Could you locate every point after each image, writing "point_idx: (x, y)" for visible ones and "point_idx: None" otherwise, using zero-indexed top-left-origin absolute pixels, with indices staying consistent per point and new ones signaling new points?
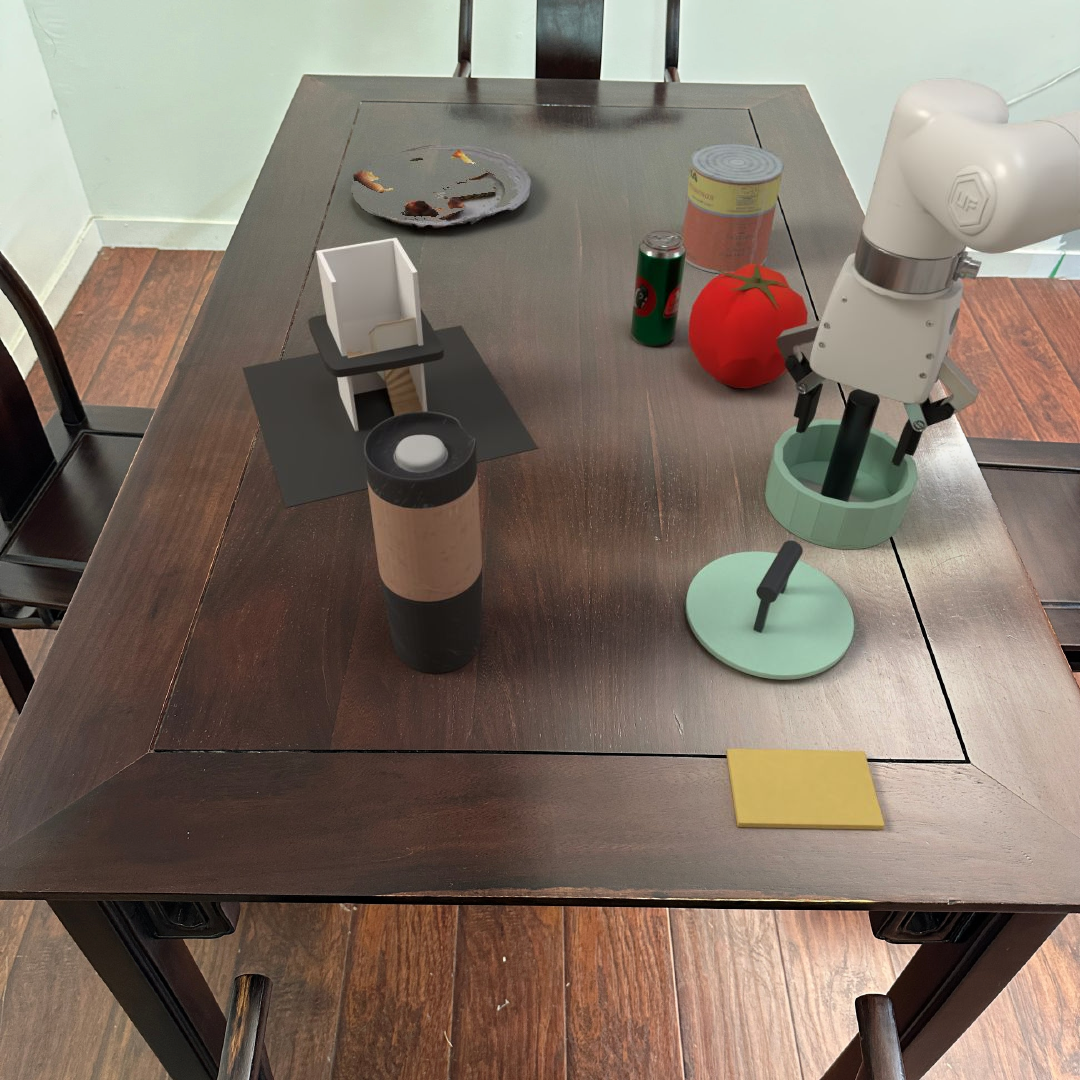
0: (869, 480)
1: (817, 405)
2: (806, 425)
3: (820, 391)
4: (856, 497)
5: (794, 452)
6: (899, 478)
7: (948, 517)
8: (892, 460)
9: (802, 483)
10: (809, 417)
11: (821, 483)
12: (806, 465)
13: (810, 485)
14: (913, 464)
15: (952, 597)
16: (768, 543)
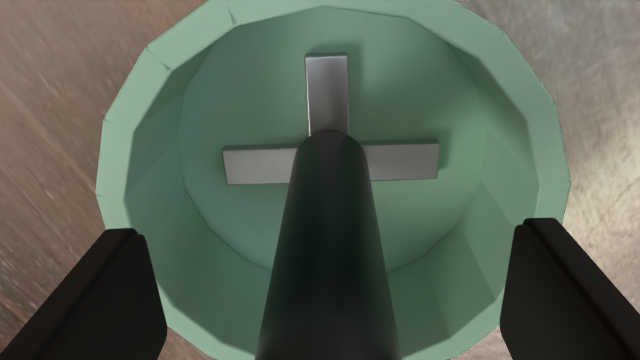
0: (390, 31)
1: (117, 265)
2: (155, 343)
3: (76, 347)
4: (382, 146)
5: (164, 122)
6: (491, 91)
7: (625, 40)
8: (504, 338)
9: (242, 170)
10: (141, 352)
11: (280, 123)
12: (212, 70)
13: (262, 167)
14: (548, 118)
15: (634, 284)
16: None
